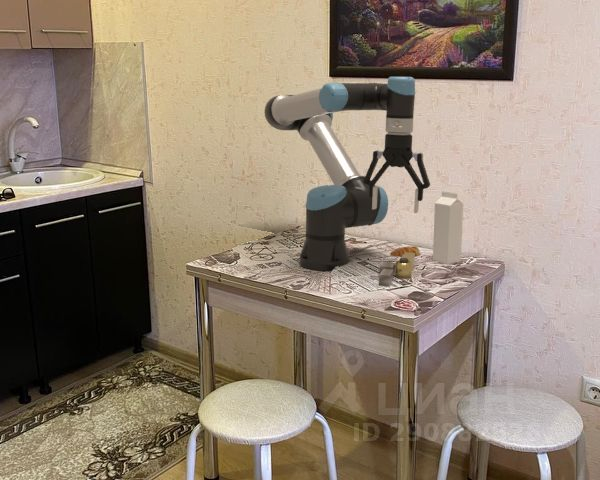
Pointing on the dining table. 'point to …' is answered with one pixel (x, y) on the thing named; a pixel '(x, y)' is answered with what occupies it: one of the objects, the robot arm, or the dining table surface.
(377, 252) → the dining table surface
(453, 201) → the milk
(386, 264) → the board
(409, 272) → the latch bar
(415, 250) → the pastry
